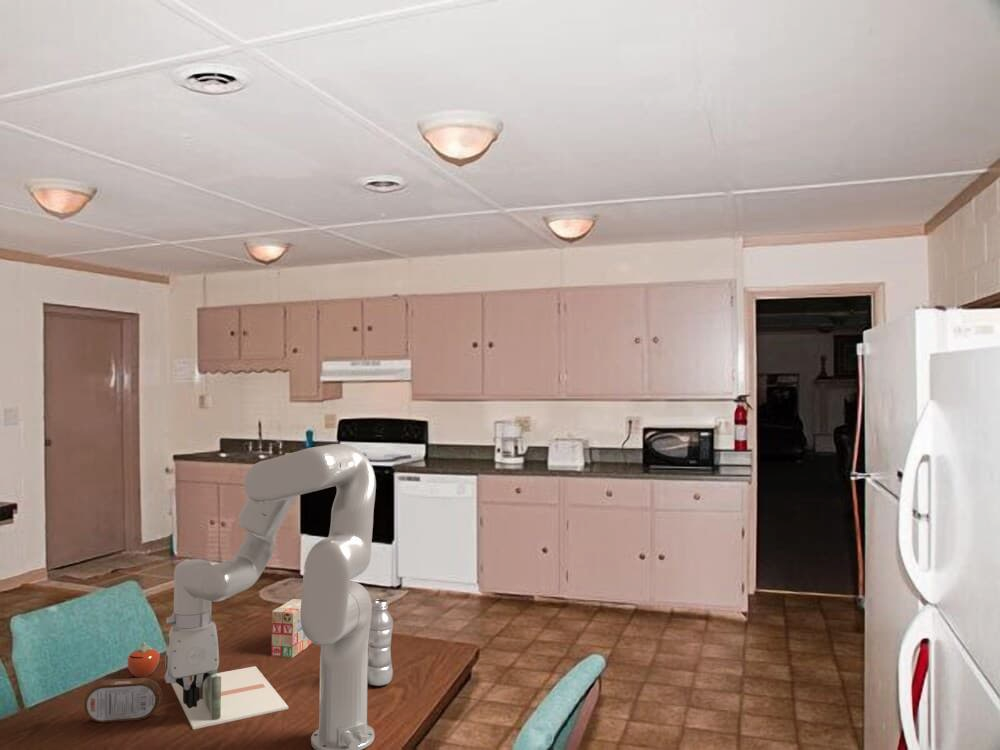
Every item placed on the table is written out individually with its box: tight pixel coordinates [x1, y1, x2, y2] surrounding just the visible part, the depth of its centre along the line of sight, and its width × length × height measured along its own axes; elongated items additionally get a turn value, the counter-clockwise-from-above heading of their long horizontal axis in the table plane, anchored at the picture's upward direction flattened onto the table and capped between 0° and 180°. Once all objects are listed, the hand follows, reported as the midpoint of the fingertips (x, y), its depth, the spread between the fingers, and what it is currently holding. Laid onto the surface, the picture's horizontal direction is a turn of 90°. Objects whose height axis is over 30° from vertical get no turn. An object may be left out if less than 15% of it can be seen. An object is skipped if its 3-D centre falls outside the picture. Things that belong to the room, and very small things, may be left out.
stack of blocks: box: [270, 598, 313, 658], centre depth 210 cm, size 21×6×12 cm, turn 169°
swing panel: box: [203, 673, 221, 719], centre depth 165 cm, size 12×2×8 cm, turn 32°
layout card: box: [170, 665, 289, 730], centre depth 173 cm, size 29×20×1 cm
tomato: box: [126, 642, 161, 678], centre depth 186 cm, size 7×7×8 cm
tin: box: [83, 677, 163, 723], centre depth 161 cm, size 15×3×8 cm, turn 102°
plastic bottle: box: [367, 598, 394, 687], centre depth 181 cm, size 6×7×20 cm
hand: (191, 705), depth 159 cm, fingers closed
